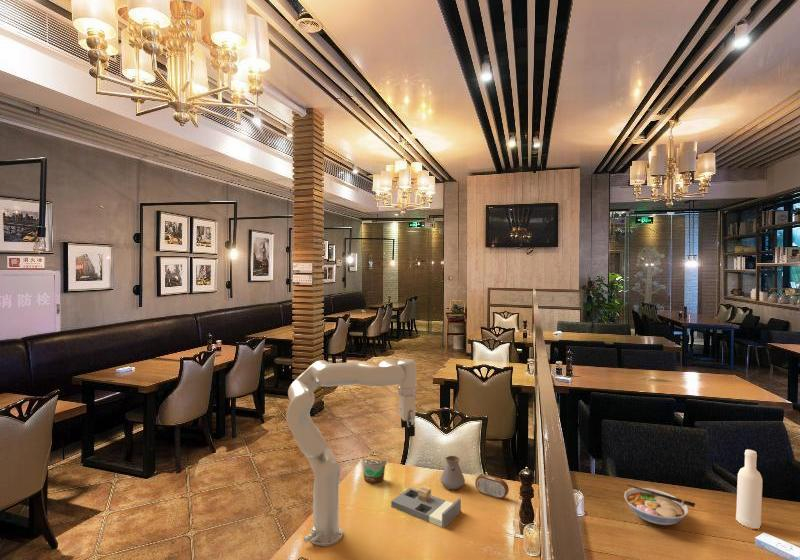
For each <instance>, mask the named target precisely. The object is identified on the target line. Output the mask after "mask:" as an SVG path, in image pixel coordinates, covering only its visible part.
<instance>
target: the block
mask: <svg viewBox="0 0 800 560" xmlns="http://www.w3.org/2000/svg"><path fill="white" fill-rule="evenodd" d="M431 495H432V489H431V488H430V487H427V486H424V485H423V486H422V487H420V488H419V489H418V499H419V500H422V501H425V502H427V501H428V500H429V499H430V498H431Z"/></svg>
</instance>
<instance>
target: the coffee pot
mask: <svg viewBox="0 0 800 560" xmlns="http://www.w3.org/2000/svg"><path fill="white" fill-rule="evenodd" d="M444 460H446V465H445V467H444V469H443V472H442V473H441V475H440V477H439V479H440V483H441V484H442V486H444V487H445V488H446V487H447V488H446V489H448V490H452V489H455V490H459V489H461V487H463V486H464V484H465V483H466V482H465V480H466V479H465V477H464V474H463V472H462V469H461V467H460V465H459V461H460V460H461V459H460V457H458V456H455V455H449V456H446V457H445V458H444Z"/></svg>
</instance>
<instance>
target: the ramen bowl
mask: <svg viewBox="0 0 800 560" xmlns="http://www.w3.org/2000/svg"><path fill="white" fill-rule="evenodd" d="M626 486H628V487H630V488H629V489H627V490H626V491H624V497H623V498H624V499H625V501H626V503H627V504H628V506H629V508H630V509H631V511H632V512H633V513H634V514H635V515H637V516H638V517H640V518H641V519H642V520H644V521H647V522H649V523H653V524H655V525H661V526H668V525H669V526H670V525H675V524H678V523H679V522H680V521H682V520H683V519H684V518H685V517H686V516H687V515H688V514H689V508H688V506H689V507H692V508H695V506H696V503H695V502H692V501H689V500H685V499H680V498H678V497H677V496H675V495H672V494H671V493H668V492H665V491H662V490H658V489H655V488H648V487H639V486H638V487H637V486H634V485H629V484H626Z"/></svg>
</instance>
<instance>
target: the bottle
mask: <svg viewBox="0 0 800 560" xmlns="http://www.w3.org/2000/svg"><path fill="white" fill-rule="evenodd" d="M757 457H758V454H757V451H755V450H753V449H745V451H744V466H743V467H741V468H740V469H739V471H738V473H737V485H736V508H735V509H736V512H735V521H736V520H737V521H738V522H739V523H741V524H742V525H745V526H747V527H751V528H760V526H761V527H762V507H763V506H762V503H763V502H762V501H763V499H762V498H763V477H762V474H761V473H760V471H758V469H757ZM760 529H761V528H760Z"/></svg>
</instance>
